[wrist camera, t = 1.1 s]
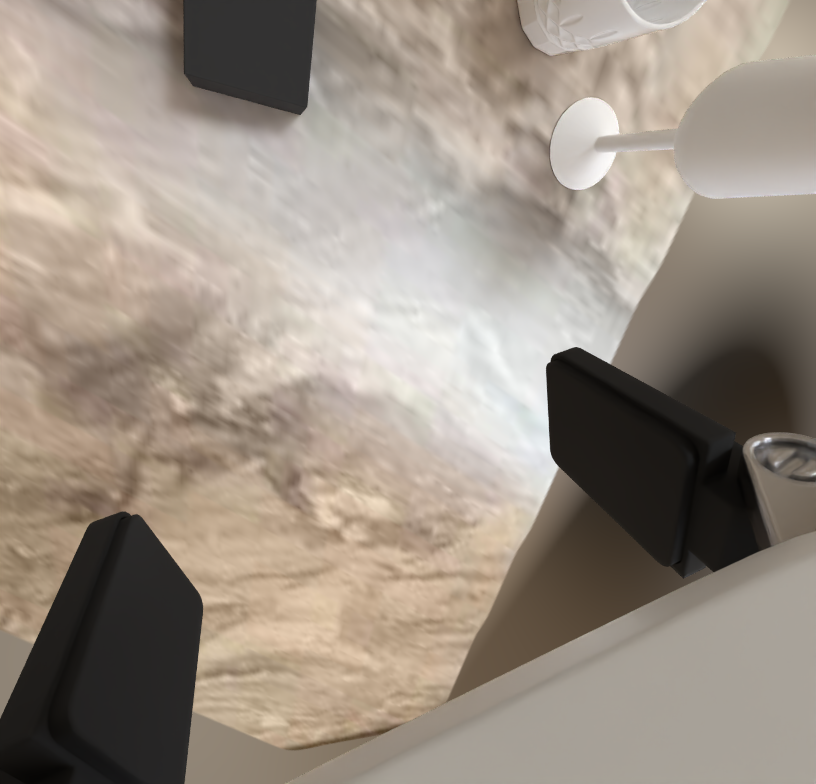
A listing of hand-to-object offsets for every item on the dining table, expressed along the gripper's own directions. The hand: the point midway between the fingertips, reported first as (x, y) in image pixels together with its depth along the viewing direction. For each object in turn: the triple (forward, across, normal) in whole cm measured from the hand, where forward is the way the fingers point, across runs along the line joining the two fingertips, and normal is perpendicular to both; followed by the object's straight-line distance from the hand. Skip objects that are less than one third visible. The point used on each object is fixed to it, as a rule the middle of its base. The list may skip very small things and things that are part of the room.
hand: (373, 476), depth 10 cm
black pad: (+27, -2, -13) cm, 30 cm away
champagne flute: (+27, -26, -2) cm, 38 cm away
